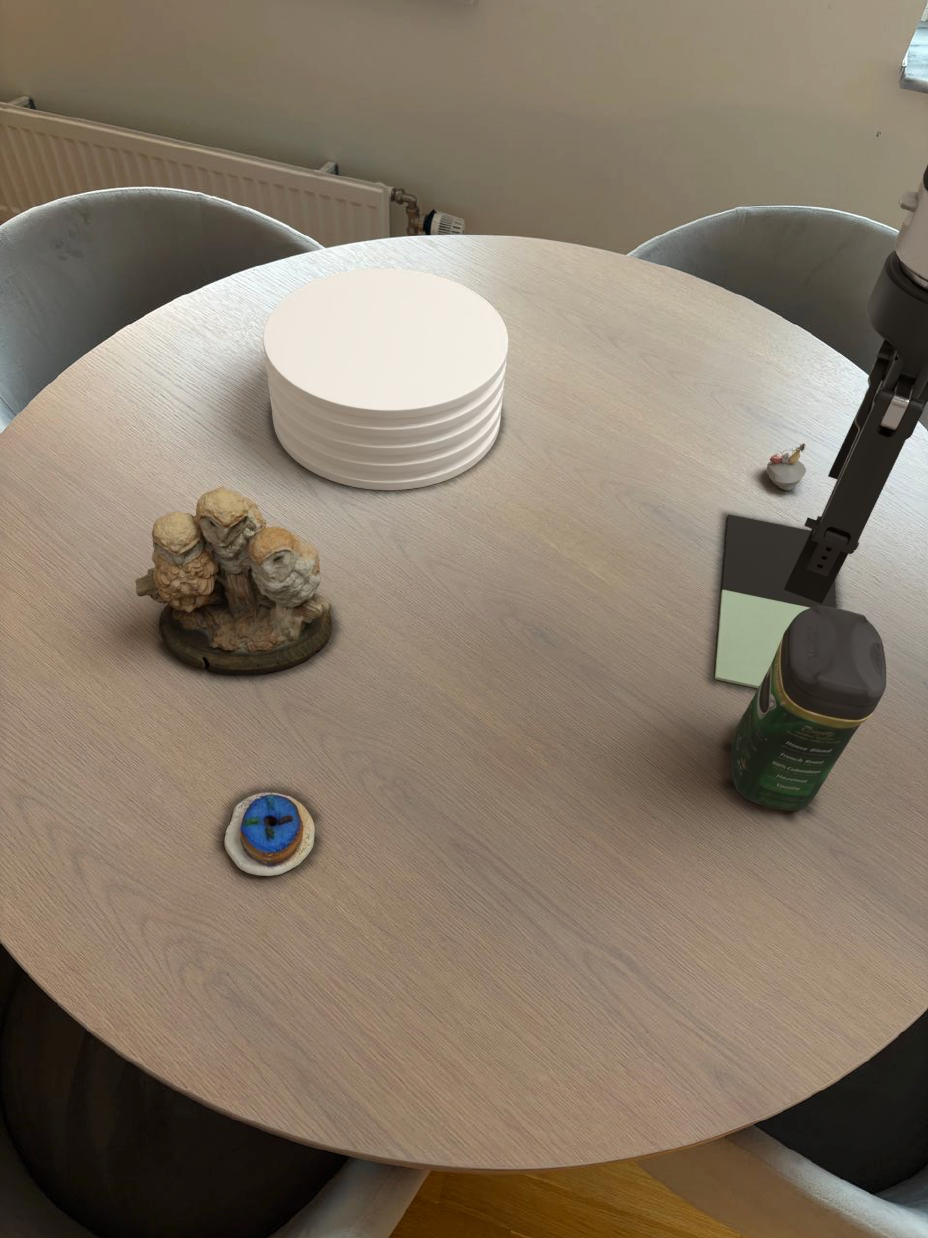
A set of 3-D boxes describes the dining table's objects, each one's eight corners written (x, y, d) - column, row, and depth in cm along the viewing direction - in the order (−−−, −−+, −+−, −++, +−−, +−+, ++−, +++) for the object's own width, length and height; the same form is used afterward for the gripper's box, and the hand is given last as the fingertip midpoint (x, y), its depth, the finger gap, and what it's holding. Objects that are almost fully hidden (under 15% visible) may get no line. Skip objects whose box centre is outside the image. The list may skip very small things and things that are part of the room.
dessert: (325, 864, 78) (277, 841, 74) (265, 899, 80) (215, 879, 76) (313, 784, 84) (267, 759, 80) (257, 819, 86) (209, 796, 81)
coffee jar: (815, 822, 84) (900, 703, 70) (726, 802, 85) (792, 681, 71) (813, 734, 90) (892, 607, 76) (730, 716, 91) (792, 587, 77)
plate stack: (459, 334, 129) (464, 256, 121) (532, 467, 113) (544, 387, 104) (253, 364, 123) (242, 283, 114) (299, 509, 106) (291, 428, 97)
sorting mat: (837, 706, 93) (838, 703, 92) (714, 679, 94) (715, 676, 94) (832, 537, 108) (834, 535, 108) (727, 516, 109) (728, 514, 109)
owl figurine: (142, 678, 90) (98, 554, 77) (159, 585, 98) (122, 458, 85) (332, 674, 92) (322, 552, 79) (335, 583, 99) (325, 458, 86)
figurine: (790, 500, 112) (807, 461, 107) (755, 485, 113) (771, 446, 108) (806, 476, 114) (823, 437, 110) (771, 461, 116) (787, 422, 111)
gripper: (925, 165, 62) (815, 423, 78) (843, 359, 47) (728, 627, 64) (1045, 196, 60) (907, 454, 76) (998, 408, 45) (839, 671, 62)
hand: (825, 533), depth 70 cm, fingers open, 13 cm apart
